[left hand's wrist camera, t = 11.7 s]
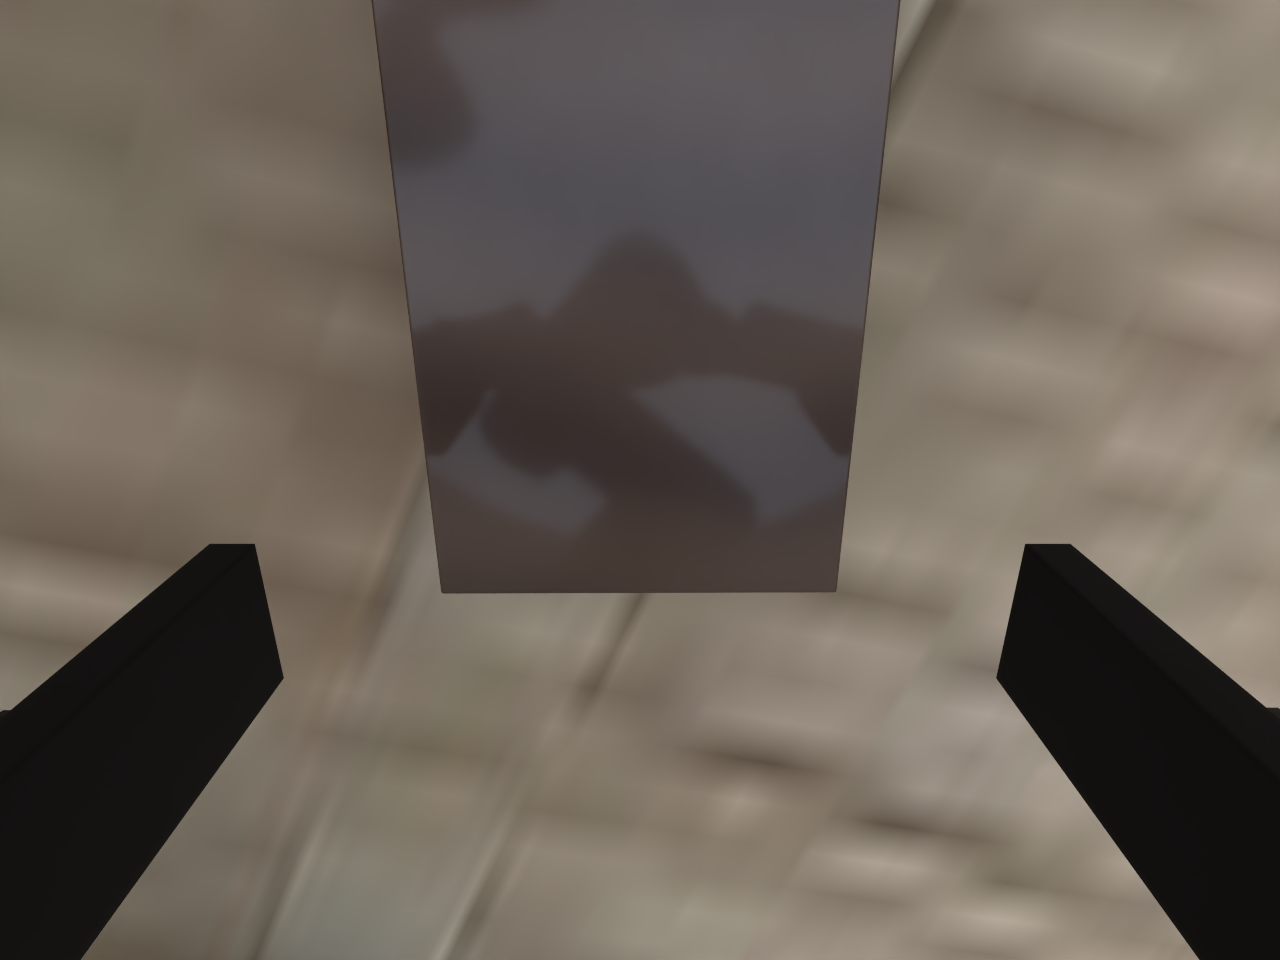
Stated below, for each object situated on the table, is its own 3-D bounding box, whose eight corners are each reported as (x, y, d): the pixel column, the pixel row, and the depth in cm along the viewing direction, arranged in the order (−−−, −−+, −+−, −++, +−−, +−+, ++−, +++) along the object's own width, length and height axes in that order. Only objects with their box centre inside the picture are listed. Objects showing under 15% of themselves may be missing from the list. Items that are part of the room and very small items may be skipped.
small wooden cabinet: (469, -169, 23) (312, -493, 12) (804, -170, 23) (955, -497, 12) (512, 446, 30) (441, 594, 19) (765, 446, 30) (836, 592, 19)
